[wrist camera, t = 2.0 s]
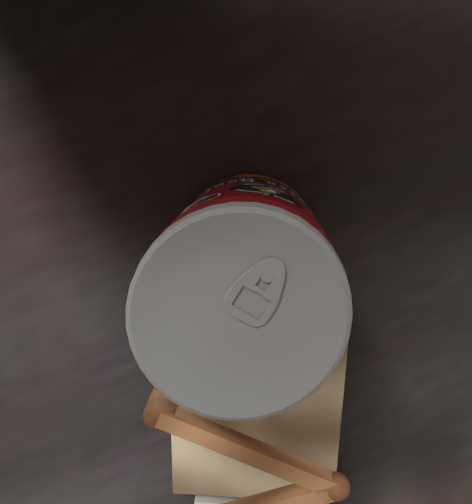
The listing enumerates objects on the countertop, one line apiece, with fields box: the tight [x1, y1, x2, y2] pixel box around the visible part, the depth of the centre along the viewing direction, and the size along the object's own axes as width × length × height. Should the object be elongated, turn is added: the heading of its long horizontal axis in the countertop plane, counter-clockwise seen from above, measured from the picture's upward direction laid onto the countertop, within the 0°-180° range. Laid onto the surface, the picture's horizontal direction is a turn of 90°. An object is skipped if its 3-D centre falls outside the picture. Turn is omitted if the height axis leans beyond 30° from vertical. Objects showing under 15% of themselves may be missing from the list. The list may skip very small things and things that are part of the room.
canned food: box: [126, 174, 353, 421], centre depth 20 cm, size 8×8×11 cm
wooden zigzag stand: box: [143, 340, 350, 504], centre depth 24 cm, size 12×10×8 cm
